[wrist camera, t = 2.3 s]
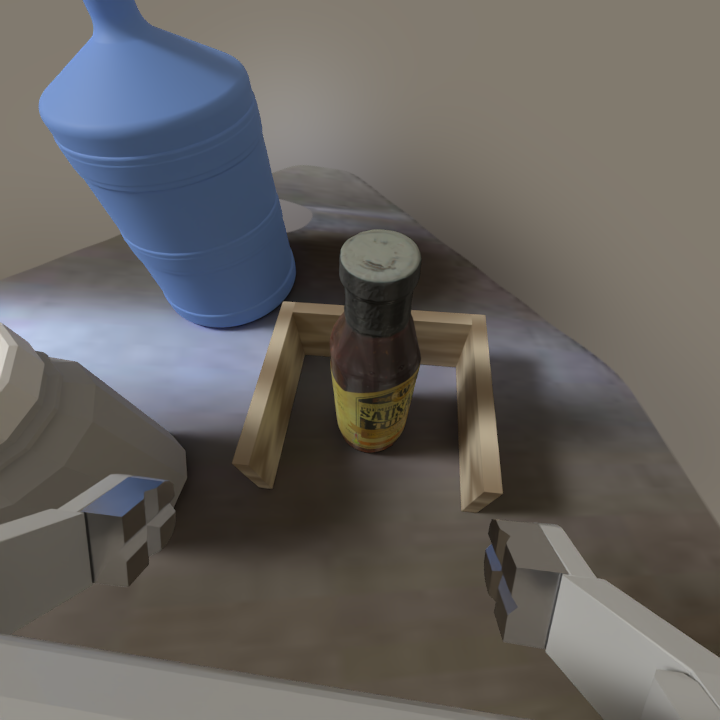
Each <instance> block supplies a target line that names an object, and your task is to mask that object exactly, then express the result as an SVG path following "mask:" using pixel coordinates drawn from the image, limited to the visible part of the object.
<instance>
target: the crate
mask: <svg viewBox="0 0 720 720" xmlns="http://www.w3.org/2000/svg"><path fill="white" fill-rule="evenodd" d="M343 312H344V305H330V304H315V303H300V302H286V301H283V302H282V306H281V309H280V312H279V315H278V318H277V321H276V325H275V328H274V331H273V334H272V337H271V341H270V344H269V347H268V350H267V353H266V356H265V360H264V363H263V366H262V369H261V372H260V375H259V379H258V382H257V385H256V388H255V391H254V394H253V398H252V401H251V404H250V407H249V410H248V414H247V417H246V420H245V423H244V426H243V429H242V433H241V436H240V439H239V442H238V445H237V448H236V452H235V455H234V458H233V461H232V464H233V465H234V466H235V467H236V468H237V469H239V470H240V471H241V472H242V473H243V474H244V475H245V476H247V477H248V478H249V479H250V480H251V481H252V482H253V483H254V484H256V485H257V486H258V487H259V488H268V489H273V485H274V481H275V476H276V472H277V468H278V464H279V460H280V456H281V452H282V448H283V443H284V439H285V435H286V431H287V427H288V423H289V419H290V415H291V410H292V406H293V402H294V398H295V394H296V390H297V386H298V382H299V377H300V373H301V369H302V365H303V361H304V357H305V355H313V356H325V357H331V354H330V336H331V333H332V330H333V327H334V325H335V323H336V322H337V320H338V319H339V317H340V316H341V315H342V313H343ZM411 314H412V317H413V320H414V325H415V330H416V335H417V340H418V345H419V349H420V354H421V363H420V364H423V365H435V366H448V367H456V380H457V407H458V434H459V461H460V489H461V511H464V512H472V513H477V512H478V511H480V510H481V509H482V508H484V507H485V506H487V505H488V504H489V503H491V502H492V501H494V500H495V499H496V498H498V497H499V496H501V495H502V494H503V490H502V479H501V469H500V459H499V449H498V439H497V429H496V419H495V409H494V399H493V389H492V379H491V368H490V358H489V348H488V338H487V328H486V318H485V315H475V314H461V313H446V312H432V311H417V310H411Z"/></svg>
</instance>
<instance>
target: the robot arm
mask: <svg viewBox="0 0 720 720" xmlns="http://www.w3.org/2000/svg"><path fill="white" fill-rule="evenodd" d="M174 497H175V491H174V484H173V483H172V482H171V481H169V480H162V479H155V478H148V477H141V476H133V475H126V474H111V475H109V476H108V477H106V478H104V479H103V480H101V481H100V482H98V483H97V484H95V485H94V486H92V487H91V488H89V489H88V490H86V491H85V492H83V493H81V494H80V495H78V496H77V497H75V498H74V499H72V500H71V501H69V502H68V503H66V504H65V505H63V506H62V507H60V508H58V509H48V510H45V511H42V512H39V513H36V514H33V515H29V516H26V517H23V518H20V519H17V520H14V521H10V522H7V523H4V524H1V525H0V720H532V719H526V718H520V717H513V716H507V715H501V714H495V713H488V712H482V711H476V710H470V709H464V708H458V707H452V706H446V705H439V704H433V703H427V702H421V701H415V700H409V699H403V698H397V697H391V696H385V695H379V694H373V693H367V692H361V691H355V690H348V689H342V688H336V687H330V686H324V685H318V684H312V683H306V682H300V681H293V680H287V679H281V678H275V677H269V676H263V675H256V674H250V673H244V672H238V671H232V670H226V669H219V668H213V667H207V666H201V665H195V664H189V663H182V662H176V661H170V660H164V659H158V658H151V657H145V656H139V655H133V654H127V653H121V652H115V651H108V650H102V649H96V648H90V647H84V646H78V645H72V644H65V643H59V642H53V641H47V640H41V639H35V638H29V637H22V636H16V635H10V634H12V633H14V632H15V631H17V630H19V629H20V628H22V627H24V626H25V625H27V624H29V623H30V622H32V621H34V620H35V619H37V618H39V617H40V616H42V615H44V614H45V613H47V612H49V611H50V610H52V609H54V608H55V607H57V606H59V605H60V604H62V603H64V602H65V601H67V600H69V599H70V598H72V597H74V596H75V595H77V594H79V593H80V592H82V591H84V590H85V589H87V588H89V587H90V586H92V585H93V584H92V583H95V584H104V585H113V586H122V587H129V586H130V585H131V584H132V583H133V581H134V580H135V579H136V578H137V577H138V576H139V575H140V574H141V573H142V571H143V570H144V569H145V568H146V567H147V566H148V565H149V556H151V555H153V554H155V553H157V552H159V551H161V550H162V549H163V548H164V547H165V545H166V544H167V543H168V542H169V540H170V538H171V536H172V534H173V532H174V529H175V524H176V511H175V509H174V508H173V507H172V505H171V504H170V502H171V500H172V499H173V498H174ZM488 535H489V538H490V540H491V543H492V544H491V545H490V546H489V547H488V548H487V549H486V550H485V558H484V577H485V583H486V587H487V591H488V594H489V595H490V596H491V597H492V598H493V599H494V600H495V601H496V603H495V609H494V614H495V617H496V621H497V624H498V627H499V630H500V634H501V637H502V640H503V642H507V643H513V644H518V645H524V646H530V647H535V648H541V649H546V651H545V652H546V653H547V654H548V655H549V656H550V657H551V659H552V660H553V661H554V662H555V663H556V664H557V666H558V667H559V668H560V669H561V670H562V671H563V673H564V674H565V675H566V676H567V677H568V678H569V680H570V681H571V682H572V683H573V684H574V685H575V687H576V688H577V689H578V690H579V691H580V692H581V694H582V695H583V696H584V697H585V698H586V699H587V701H588V702H589V703H590V704H591V705H592V706H593V708H594V709H595V710H596V711H597V712H598V713H599V715H600V716H601V717H602V718H603V719H604V720H720V658H719V657H718V656H716V655H715V654H713V653H712V652H710V651H709V650H707V649H706V648H704V647H703V646H701V645H700V644H699V643H697V642H696V641H694V640H693V639H691V638H690V637H688V636H687V635H685V634H684V633H682V632H681V631H679V630H678V629H676V628H675V627H674V626H672V625H671V624H669V623H668V622H666V621H665V620H663V619H662V618H660V617H659V616H657V615H656V614H654V613H653V612H652V611H650V610H649V609H647V608H646V607H644V606H643V605H641V604H640V603H638V602H637V601H635V600H634V599H632V598H631V597H630V596H628V595H627V594H625V593H624V592H622V591H621V590H619V589H618V588H616V587H615V586H613V585H612V584H610V583H609V582H607V581H606V580H605V579H597V578H596V576H595V575H594V573H593V572H592V571H591V569H590V568H589V566H588V565H587V563H586V562H585V560H584V559H583V558H582V556H581V555H580V553H579V552H578V550H577V549H576V548H575V546H574V545H573V543H572V542H571V540H570V539H569V538H568V536H567V535H566V533H565V532H564V530H563V529H562V528H561V527H560V526H558V525H556V524H544V523H528V522H518V521H508V520H498V519H492V520H491V523H490V526H489V531H488Z"/></svg>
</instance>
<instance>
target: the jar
mask: <svg viewBox="0 0 720 720" xmlns="http://www.w3.org/2000/svg"><path fill="white" fill-rule="evenodd" d="M111 474H126V475H133V476H141V477H148V478H155V479H162V480H169V481H171V482H172V483H173V484H174V491H175V497H174V498H173V499H172V500H171V502H170V504H171V505H172V507H173V508H174V506H175V504H176V501H177V499H178V497H179V495H180V493H181V490H182V488H183V486H184V484H185V482H186V479H187V467H186V452H185V449H184V448H183V447H182V446H181V445H180V444H179V443H178V442H177V440H176V439H175V438H174V437H173V436H172V435H171V434H170V433H169V432H168V431H167V430H165V429H164V428H163V427H162V426H160V425H159V424H158V423H156V422H155V421H154V420H152V419H151V418H150V417H148V416H147V415H146V414H145V413H143V412H142V411H141V410H139V409H138V408H137V407H135V406H134V405H133V404H131V403H130V402H129V401H128V400H126V399H125V398H124V397H122V396H121V395H120V394H118V393H117V392H116V391H114V390H113V389H112V388H111V387H109V386H108V385H107V384H105V383H104V382H103V381H101V380H100V379H99V378H97V377H96V376H95V375H94V374H92V373H91V372H90V371H88V370H87V369H86V368H84V367H83V366H82V365H80V364H79V363H78V362H75V361H69V360H63V359H57V358H51V357H48V355H46V354H45V353H44V352H38V351H35V350H34V349H33V348H32V347H31V345H30V344H29V343H28V342H27V341H26V340H24V339H23V338H22V337H20V336H19V335H17V334H16V333H15V332H13V331H12V330H11V329H9V328H8V327H6V326H5V325H4V324H2V323H0V525H1V524H4V523H7V522H10V521H14V520H17V519H20V518H23V517H26V516H29V515H33V514H36V513H39V512H42V511H45V510H48V509H58V508H60V507H62V506H63V505H65V504H66V503H68V502H69V501H71V500H72V499H74V498H75V497H77V496H78V495H80V494H81V493H83V492H85V491H86V490H88V489H89V488H91V487H92V486H94V485H95V484H97V483H98V482H100V481H101V480H103V479H104V478H106V477H108V476H109V475H111Z"/></svg>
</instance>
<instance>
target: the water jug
mask: <svg viewBox="0 0 720 720" xmlns="http://www.w3.org/2000/svg"><path fill="white" fill-rule="evenodd" d="M83 2H84V4H85V6H86V8H87V10H88V12H89V14H90V16H91V19H92V22H93V28H94V31H93V36H92V37H91V38H90V40H89V41H88V42H87V43H86V44H85V45H84V46H83V47H82V49H81V50H80V51H79V52H78V53H77V54H76V55H75V57H74V58H73V59H72V60H71V61H70V62H69V63H68V64H67V65H66V67H65V68H64V69H63V70H62V71H61V72H60V73H59V74H58V75H57V77H56V78H55V79H54V80H53V81H52V82H51V83H50V84H49V86H48V87H47V88H46V89H45V90H44V92H43V93H42V95H41V97H40V101H39V112H40V116H41V118H42V120H43V122H44V123H45V125H46V126H47V127H48V129H49V130H50V132H51V133H52V134H53V136H54V139H55V141H56V143H57V144H58V146H59V148H60V149H61V151H62V152H63V154H64V155H65V157H66V158H67V159H68V161H69V162H70V164H71V165H72V166H73V168H74V169H75V170H76V171H77V173H78V174H79V175H80V176H81V177H82V178H84V180H85V181H86V183H87V184H88V185H89V187H90V188H91V190H92V191H93V193H94V194H95V196H96V197H97V198H98V200H99V201H100V203H101V204H102V206H103V207H104V208H105V210H106V211H107V213H108V214H109V215H110V217H111V218H112V220H113V221H114V223H115V224H116V225H117V227H118V228H119V230H120V232H121V234H122V236H123V238H124V239H125V241H126V242H127V244H128V245H129V247H130V248H131V249H132V251H133V252H134V254H135V255H136V256H137V257H138V258H139V259H140V260H141V261H142V262H143V264H144V265H145V266H146V268H147V269H148V271H149V272H150V273H151V275H152V276H153V278H154V279H155V281H156V282H157V283H158V285H159V286H160V288H161V289H162V290H163V293H164V295H165V297H166V299H167V300H168V301H169V303H170V304H171V306H172V307H173V308H174V310H175V311H176V312H177V313H178V314H179V315H181V316H182V317H183V318H185V319H187V320H189V321H191V322H193V323H196V324H199V325H202V326H207V327H232V326H238V325H242V324H246V323H249V322H252V321H254V320H257V319H259V318H261V317H263V316H265V315H266V314H268V313H270V312H271V311H272V310H274V309H275V308H276V307H277V306H279V305H280V304H281V303H282V302H283V300H284V299H285V298H286V297H287V295H288V294H289V292H290V291H291V289H292V287H293V284H294V281H295V276H296V266H295V260H294V257H293V253H292V250H291V248H290V245H289V241H288V237H287V233H286V229H285V225H284V221H283V218H282V210H281V206H280V202H279V198H278V195H277V193H276V189H275V185H274V181H273V177H272V173H271V168H270V164H269V159H268V155H267V150H266V146H265V142H264V138H263V134H262V124H261V118H260V114H259V110H258V106H257V102H256V99H255V95H254V93H253V91H252V89H251V85H250V81H249V77H248V74H247V71H246V70H245V68H244V66H243V65H242V64H241V63H240V62H239V61H238V60H237V59H236V58H234V57H232V56H231V55H229V54H227V53H225V52H222V51H219V50H217V49H214V48H211V47H209V46H206V45H203V44H200V43H198V42H195V41H192V40H189V39H187V38H184V37H181V36H179V35H176V34H173V33H170V32H167V31H165V30H162V29H160V28H157V27H154V26H152V25H150V24H149V23H148V22H147V21H146V20H145V19H144V18H143V17H142V15H141V14H140V12H139V10H138V8H137V6H136V3H135V1H134V0H83Z"/></svg>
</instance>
